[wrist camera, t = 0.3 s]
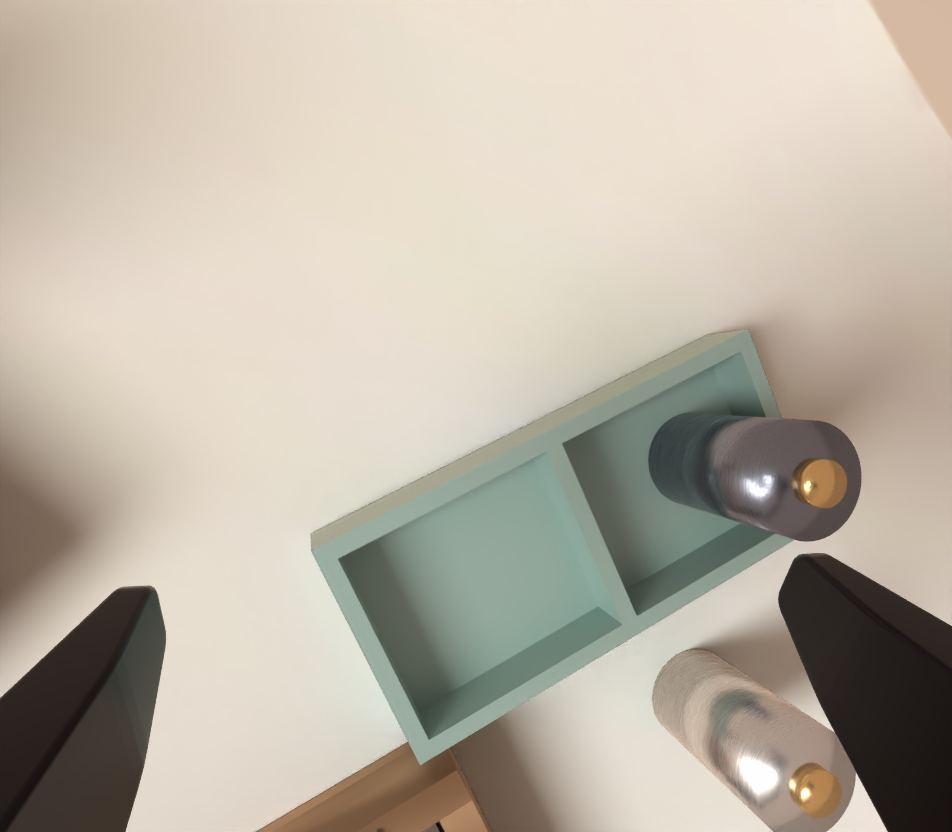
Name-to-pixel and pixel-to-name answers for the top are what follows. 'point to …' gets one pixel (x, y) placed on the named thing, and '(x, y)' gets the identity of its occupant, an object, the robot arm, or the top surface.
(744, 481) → the dark cell
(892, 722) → the robot arm
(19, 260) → the top surface
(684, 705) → the steel cell
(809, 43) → the top surface
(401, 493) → the trough tray
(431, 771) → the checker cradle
